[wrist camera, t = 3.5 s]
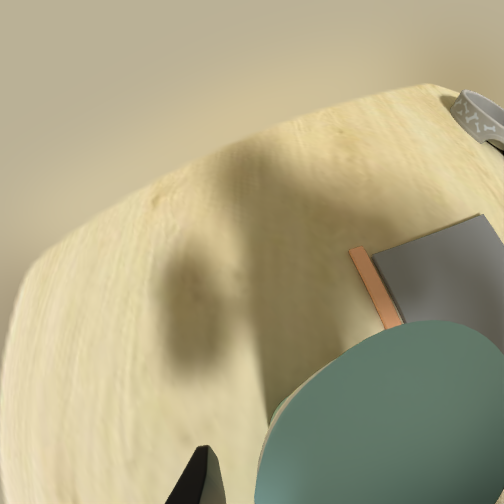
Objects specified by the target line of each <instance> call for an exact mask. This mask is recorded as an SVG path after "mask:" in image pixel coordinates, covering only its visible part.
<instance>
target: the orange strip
mask: <svg viewBox="0 0 504 504" xmlns="http://www.w3.org/2000/svg"><path fill="white" fill-rule="evenodd" d="M349 254H350V256H351V258H352V260H353V262H354V264H355V266H356V268H357V270H358V272H359V274H360V276H361V278H362V280H363V282H364V284H365V286H366V288H367V290H368V292H369V294H370V296H371V298H372V300H373V303H374V305H375V307H376V309H377V311H378V314H379V316H380V318H381V320H382V323H383V325H384V327H385V329H389V328H392V327H395V326H398V325H401V324H402V323H401V321H400V319H399V317H398V315H397V312H396V310H395V308H394V306H393V304H392V302H391V300H390V298H389V296H388V294H387V292H386V289H385V287H384V285H383V283H382V281H381V280H380V278H379V276H378V274H377V272H376V270H375V268H374V266H373V264H372V262H371V260H370V259H369V257H368V255H367V253H366V251H365V249H364V248H363V246H360V247H357V248H353V249H350V250H349Z"/></svg>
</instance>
